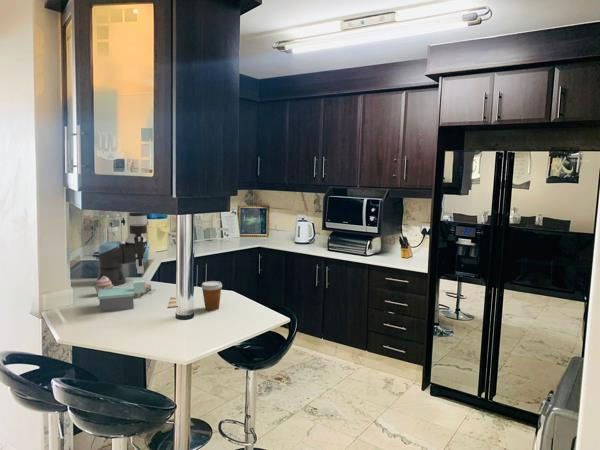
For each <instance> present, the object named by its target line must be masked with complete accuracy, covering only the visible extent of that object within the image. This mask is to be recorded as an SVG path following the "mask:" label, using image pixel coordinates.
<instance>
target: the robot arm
mask: <svg viewBox="0 0 600 450" xmlns="http://www.w3.org/2000/svg"><path fill="white" fill-rule="evenodd" d="M102 212H105V211H102ZM147 218H148V217H147V213H146V214H143V213H127V212H126V222H127V223H126V224H127V225H126V226H127V238H125V240H124V243H122V241H121V240H113V241H107V242H104V243H101V244H100V245H99V246H98V253H97V254H98V261H99V264H98V265H99V272H98V275H97V278H96V282H97V281H98V280H100V279H101V277H103V276H105V277H107V278H109V280H110V281H111V282H112V285H114V286H120V285H124V284H125V283H126V282H127V281H126V280H127V279H126V276H125V274H124V273H125V272H124V271H123V265H128V264H129V265H130V264H131V265H132V264H135V267H136V269H137V272H136V273H137V274H138V275H139V274H144V273H145V271H144V270H145V269H144V263H146V262H148V260H149V256H150V242H149V241H147V238H146V237H145V236H144V235H145V234H146V233H148V226H147V223H148V219H147ZM114 286H113V287H114Z"/></svg>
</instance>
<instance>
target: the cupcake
mask: <svg viewBox="0 0 600 450" xmlns="http://www.w3.org/2000/svg"><path fill="white" fill-rule="evenodd" d="M93 288H94V289H95V291H96V293H97V296H98V293H99V289H111V288H114V285H112V282H111V281H110V280H109V278H107V277H105V276H103V277H101V279H100V280H98V281H97V280H96V284H95V286H94V287H93Z"/></svg>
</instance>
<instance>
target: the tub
mask: <svg viewBox="0 0 600 450" xmlns="http://www.w3.org/2000/svg"><path fill="white" fill-rule="evenodd" d="M98 300H99V313H106V312H115V311H117V312H118V311H125V310H134V298H133V296H130V297H119V298H108V299H98Z"/></svg>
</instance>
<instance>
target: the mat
mask: <svg viewBox="0 0 600 450" xmlns="http://www.w3.org/2000/svg"><path fill="white" fill-rule="evenodd" d="M175 297H176V296H175ZM175 297H169V300H168V305H167V309H172V308H173V309H174V308H177V307H176V298H175Z"/></svg>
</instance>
